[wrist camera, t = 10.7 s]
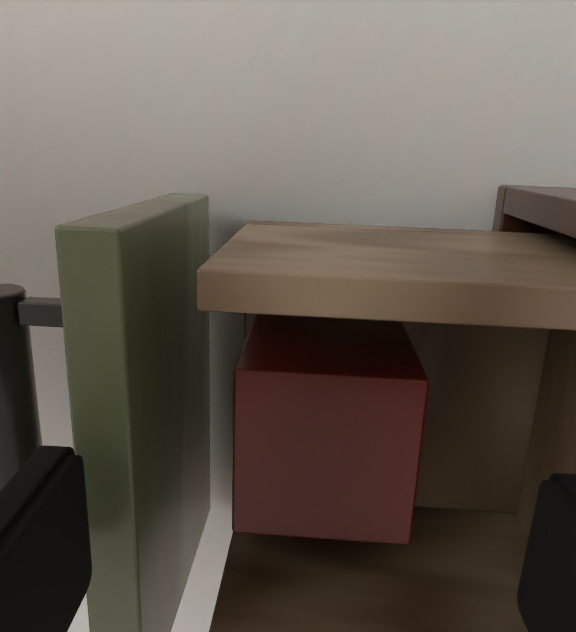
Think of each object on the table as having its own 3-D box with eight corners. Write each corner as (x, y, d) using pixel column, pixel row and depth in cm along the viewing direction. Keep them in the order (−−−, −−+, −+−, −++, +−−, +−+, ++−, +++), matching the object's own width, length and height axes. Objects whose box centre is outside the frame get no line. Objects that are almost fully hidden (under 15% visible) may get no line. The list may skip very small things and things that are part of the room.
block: (253, 443, 18) (231, 533, 14) (256, 313, 17) (232, 369, 13) (389, 452, 18) (410, 546, 14) (403, 321, 17) (431, 380, 12)
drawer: (69, 498, 21) (-74, 694, 13) (41, 187, 17) (-173, 215, 10) (521, 530, 20) (639, 759, 12) (581, 210, 17) (793, 259, 9)
